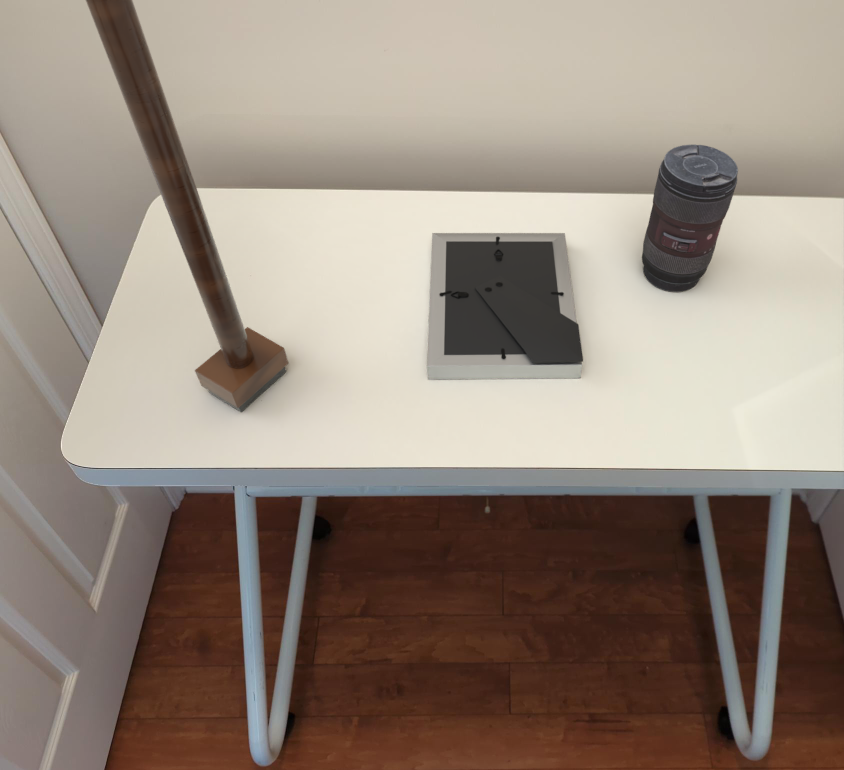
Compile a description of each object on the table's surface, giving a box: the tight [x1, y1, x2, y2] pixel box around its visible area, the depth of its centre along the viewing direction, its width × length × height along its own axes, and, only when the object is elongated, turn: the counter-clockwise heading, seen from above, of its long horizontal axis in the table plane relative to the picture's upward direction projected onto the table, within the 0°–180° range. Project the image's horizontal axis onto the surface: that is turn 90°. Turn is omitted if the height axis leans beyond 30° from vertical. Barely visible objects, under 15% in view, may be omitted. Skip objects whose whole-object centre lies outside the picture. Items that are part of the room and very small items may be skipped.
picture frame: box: [426, 232, 584, 380], centre depth 83 cm, size 16×3×21 cm
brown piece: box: [85, 0, 289, 413], centre depth 60 cm, size 7×5×40 cm
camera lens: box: [641, 144, 739, 293], centre depth 83 cm, size 8×8×15 cm
